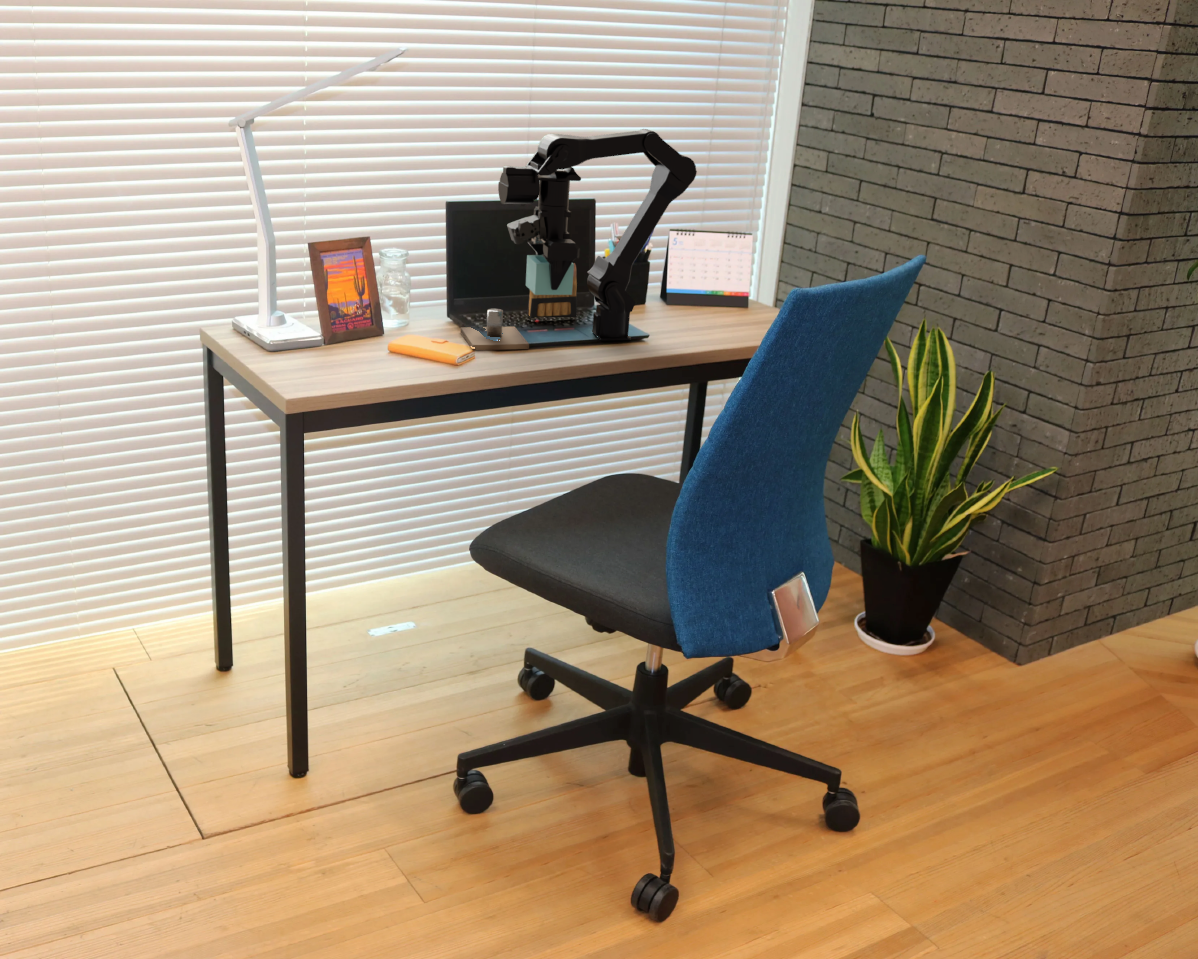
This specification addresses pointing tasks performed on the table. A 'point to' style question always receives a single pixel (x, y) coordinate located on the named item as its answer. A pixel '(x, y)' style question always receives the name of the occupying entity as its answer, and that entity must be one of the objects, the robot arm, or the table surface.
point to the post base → (495, 345)
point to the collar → (546, 277)
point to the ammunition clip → (554, 303)
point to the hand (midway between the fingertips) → (549, 284)
